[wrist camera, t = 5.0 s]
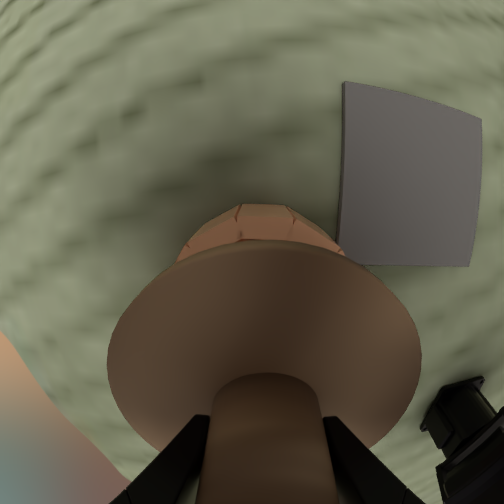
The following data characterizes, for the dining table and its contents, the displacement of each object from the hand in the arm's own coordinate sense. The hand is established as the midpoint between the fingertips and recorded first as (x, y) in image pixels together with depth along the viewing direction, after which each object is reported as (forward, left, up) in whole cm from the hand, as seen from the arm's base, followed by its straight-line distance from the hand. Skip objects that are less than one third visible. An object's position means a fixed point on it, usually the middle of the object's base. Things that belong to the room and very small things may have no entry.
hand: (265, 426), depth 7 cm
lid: (0, 0, -2) cm, 2 cm away
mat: (-10, -7, -11) cm, 17 cm away
